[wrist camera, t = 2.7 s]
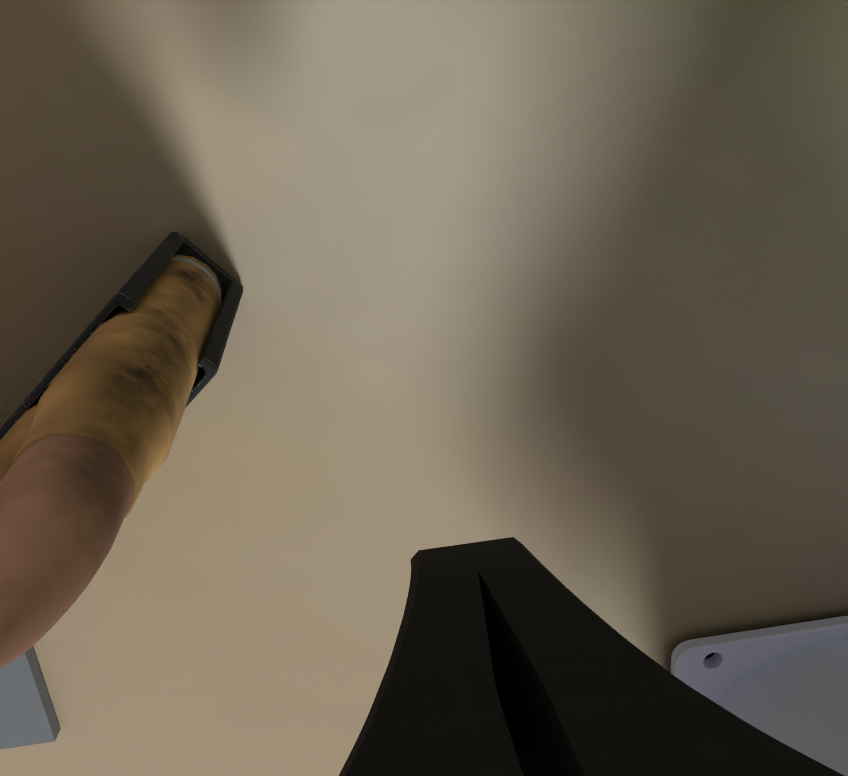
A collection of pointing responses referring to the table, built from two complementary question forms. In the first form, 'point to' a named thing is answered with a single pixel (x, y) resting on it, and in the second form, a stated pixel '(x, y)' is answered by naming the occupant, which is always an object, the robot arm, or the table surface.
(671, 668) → the robot arm
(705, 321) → the table surface
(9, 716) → the rubber mat
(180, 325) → the ammunition clip
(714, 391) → the table surface
